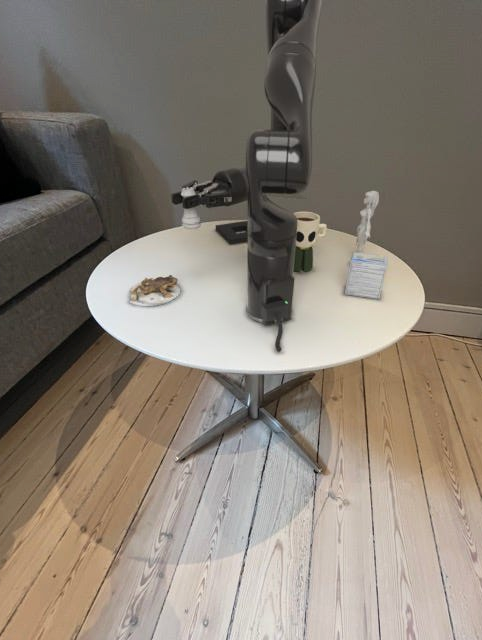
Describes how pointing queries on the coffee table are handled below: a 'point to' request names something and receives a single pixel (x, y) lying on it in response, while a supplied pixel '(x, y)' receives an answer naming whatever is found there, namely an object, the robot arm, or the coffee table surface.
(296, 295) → the coffee table surface
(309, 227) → the character mug
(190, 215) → the rook chess piece
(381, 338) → the coffee table surface
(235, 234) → the socket pad
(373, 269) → the medicine box
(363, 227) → the human figurine
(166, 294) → the frog figurine
